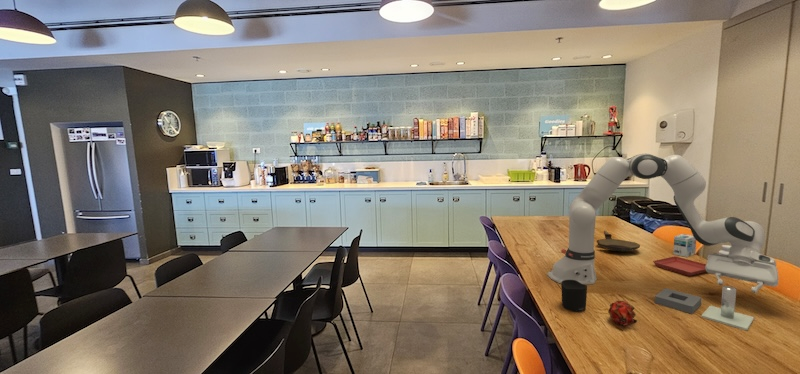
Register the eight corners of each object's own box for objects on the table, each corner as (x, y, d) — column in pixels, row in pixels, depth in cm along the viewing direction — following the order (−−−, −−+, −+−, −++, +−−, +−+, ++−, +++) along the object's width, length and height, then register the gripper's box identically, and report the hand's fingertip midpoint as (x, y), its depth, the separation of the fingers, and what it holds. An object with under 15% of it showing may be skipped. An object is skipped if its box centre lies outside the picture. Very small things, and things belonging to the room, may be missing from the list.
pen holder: (562, 311, 134) (562, 287, 132) (560, 300, 142) (560, 278, 141) (588, 314, 130) (589, 290, 129) (584, 303, 139) (585, 280, 138)
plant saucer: (651, 266, 176) (651, 260, 175) (674, 261, 181) (675, 255, 181) (690, 278, 159) (690, 272, 158) (714, 272, 164) (715, 266, 164)
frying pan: (595, 253, 198) (596, 241, 197) (596, 240, 224) (597, 229, 223) (641, 259, 187) (642, 245, 186) (637, 244, 212) (637, 232, 211)
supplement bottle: (739, 274, 161) (741, 248, 159) (723, 273, 162) (725, 248, 161) (729, 269, 167) (730, 244, 166) (713, 268, 169) (715, 244, 167)
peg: (728, 319, 121) (730, 290, 120) (717, 314, 125) (719, 286, 123) (736, 318, 121) (739, 289, 120) (726, 313, 125) (728, 285, 124)
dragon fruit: (623, 318, 129) (624, 338, 119) (602, 303, 131) (602, 321, 122) (639, 305, 125) (642, 325, 115) (618, 290, 127) (619, 308, 117)
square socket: (692, 314, 127) (692, 306, 127) (654, 303, 137) (655, 296, 136) (701, 304, 134) (701, 297, 133) (664, 294, 144) (665, 287, 143)
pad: (747, 330, 115) (747, 328, 115) (701, 317, 124) (701, 315, 124) (753, 319, 122) (753, 317, 121) (710, 307, 131) (710, 305, 131)
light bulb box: (686, 257, 185) (688, 239, 184) (672, 254, 191) (673, 236, 190) (695, 254, 190) (697, 235, 189) (681, 251, 196) (682, 233, 195)
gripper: (707, 248, 140) (699, 276, 135) (781, 260, 123) (774, 292, 119) (710, 256, 143) (702, 283, 138) (781, 268, 126) (775, 300, 122)
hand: (736, 288), depth 128 cm, fingers open, 8 cm apart
